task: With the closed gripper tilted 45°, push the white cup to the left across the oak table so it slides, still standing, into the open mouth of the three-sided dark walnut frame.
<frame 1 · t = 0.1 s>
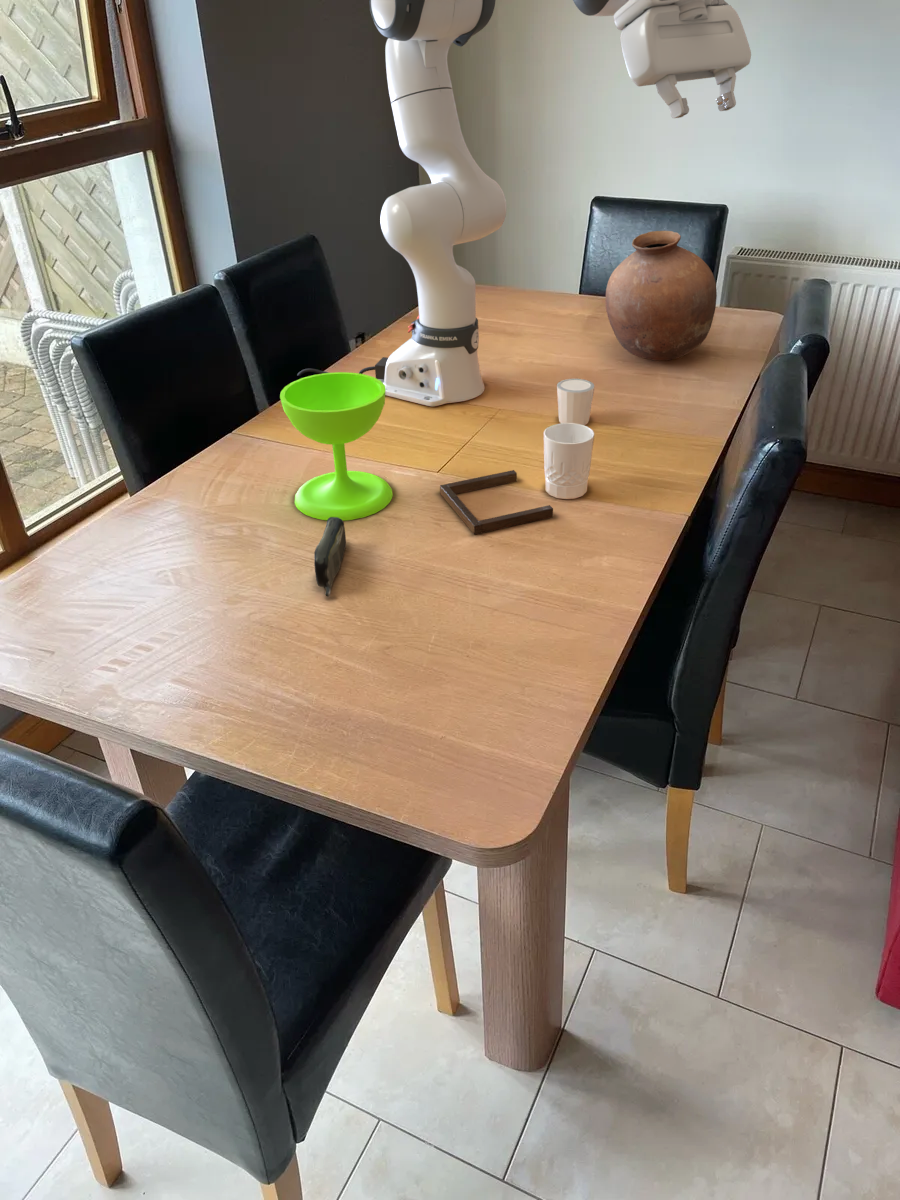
hand: (705, 112, 118), 54 cm above the table, tool tilted 30°, fingers open, 8 cm apart
walnut frame: (498, 504, 145), on the table
white cup: (565, 491, 149), on the table
mobile phone: (331, 570, 131), on the table
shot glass: (573, 421, 172), on the table
pottery: (654, 355, 200), on the table
wineglass: (343, 497, 149), on the table
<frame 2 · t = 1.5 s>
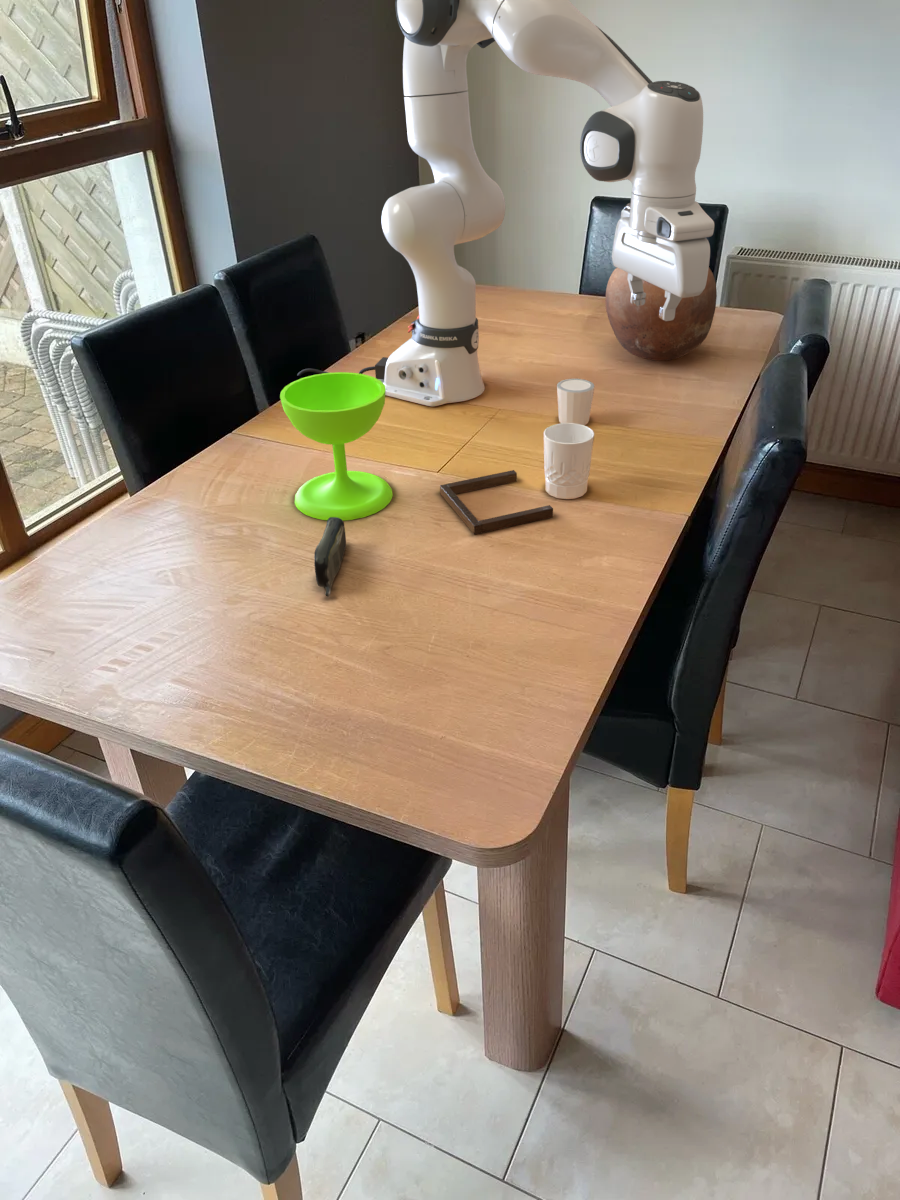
hand: (651, 311, 137), 27 cm above the table, tool pointing down, fingers open, 7 cm apart
nothing on the table moved.
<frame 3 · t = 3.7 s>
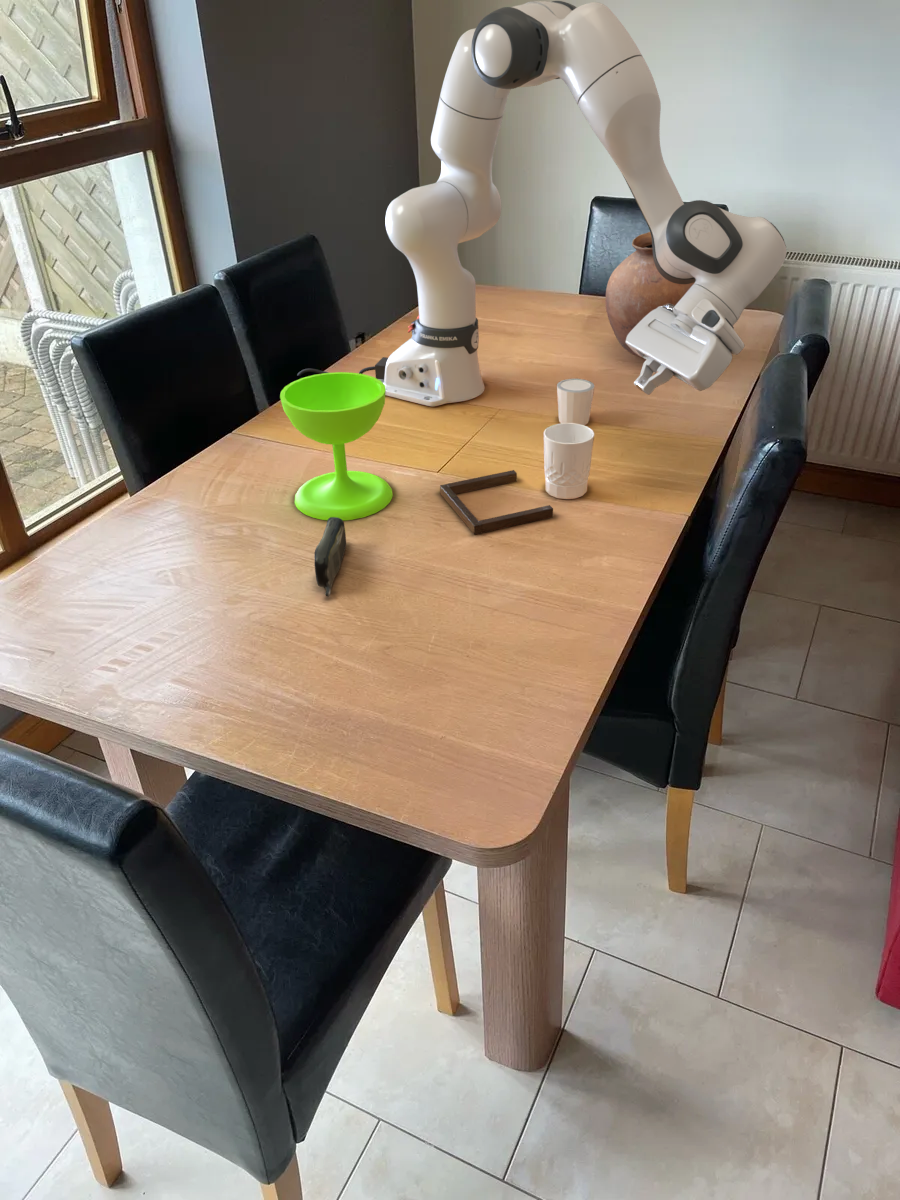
hand: (640, 389, 144), 15 cm above the table, tool tilted 45°, fingers closed
nothing on the table moved.
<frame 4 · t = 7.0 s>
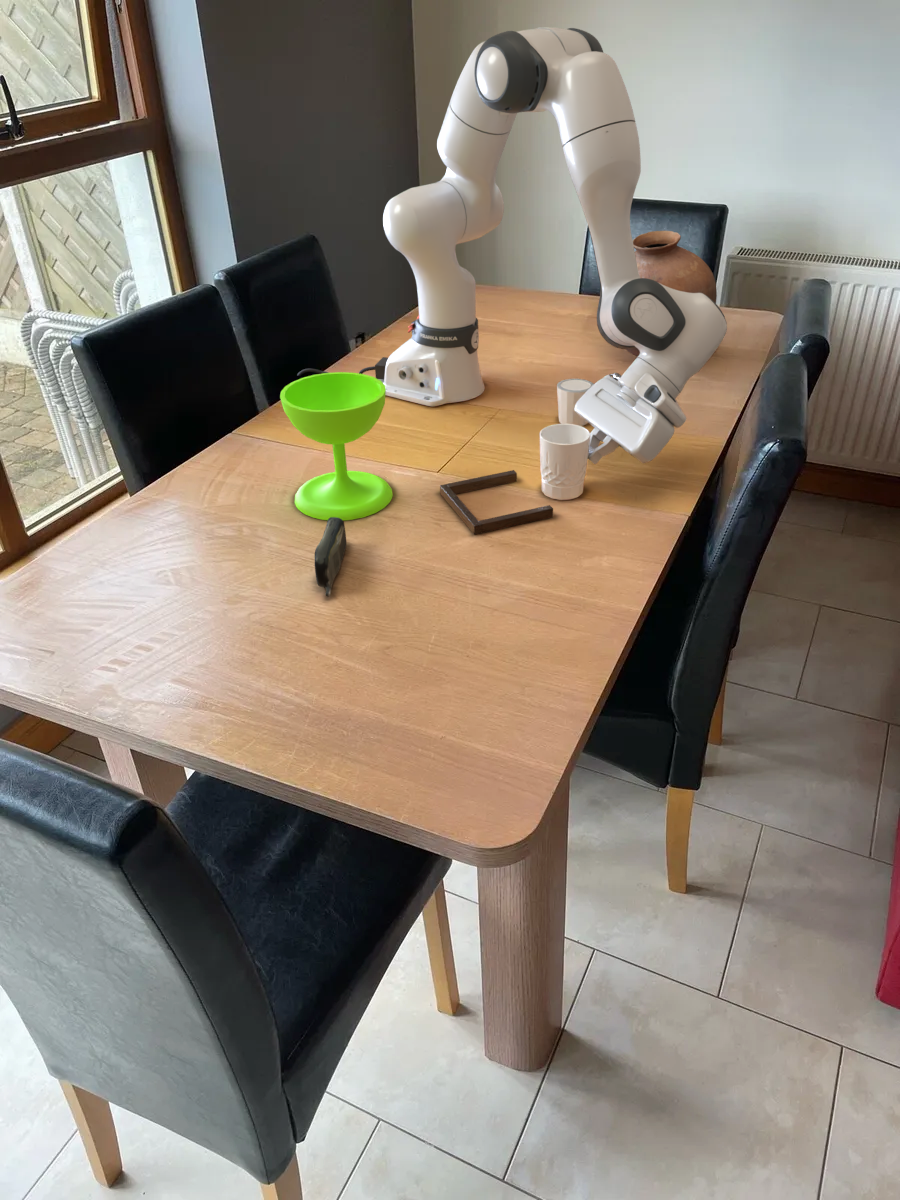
hand: (587, 458, 147), 5 cm above the table, tool tilted 45°, fingers closed, pressing on white cup
white cup: (562, 491, 149), on the table, touching gripper
everything else where it was.
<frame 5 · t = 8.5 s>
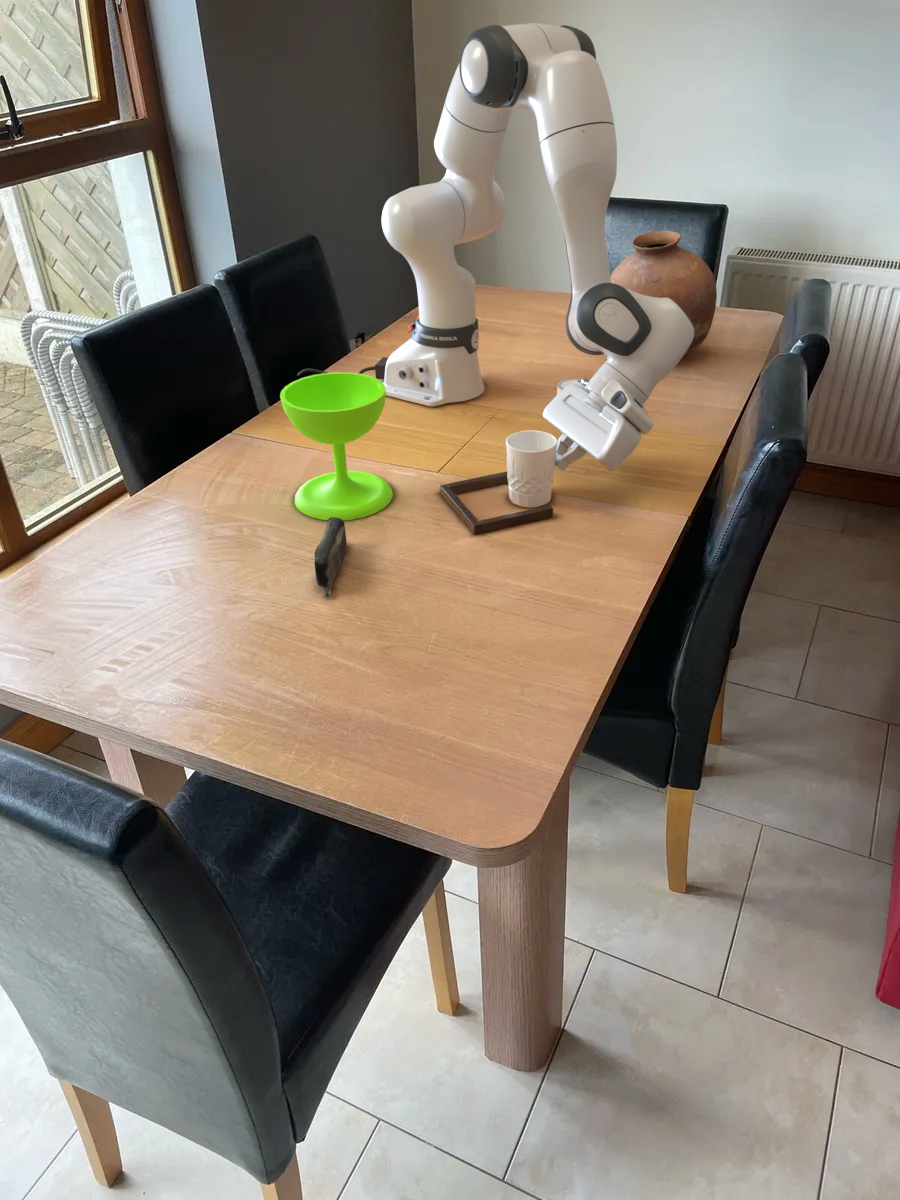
hand: (555, 465, 145), 5 cm above the table, tool tilted 45°, fingers closed, pressing on white cup
white cup: (529, 499, 147), on the table, touching gripper
everything else where it was.
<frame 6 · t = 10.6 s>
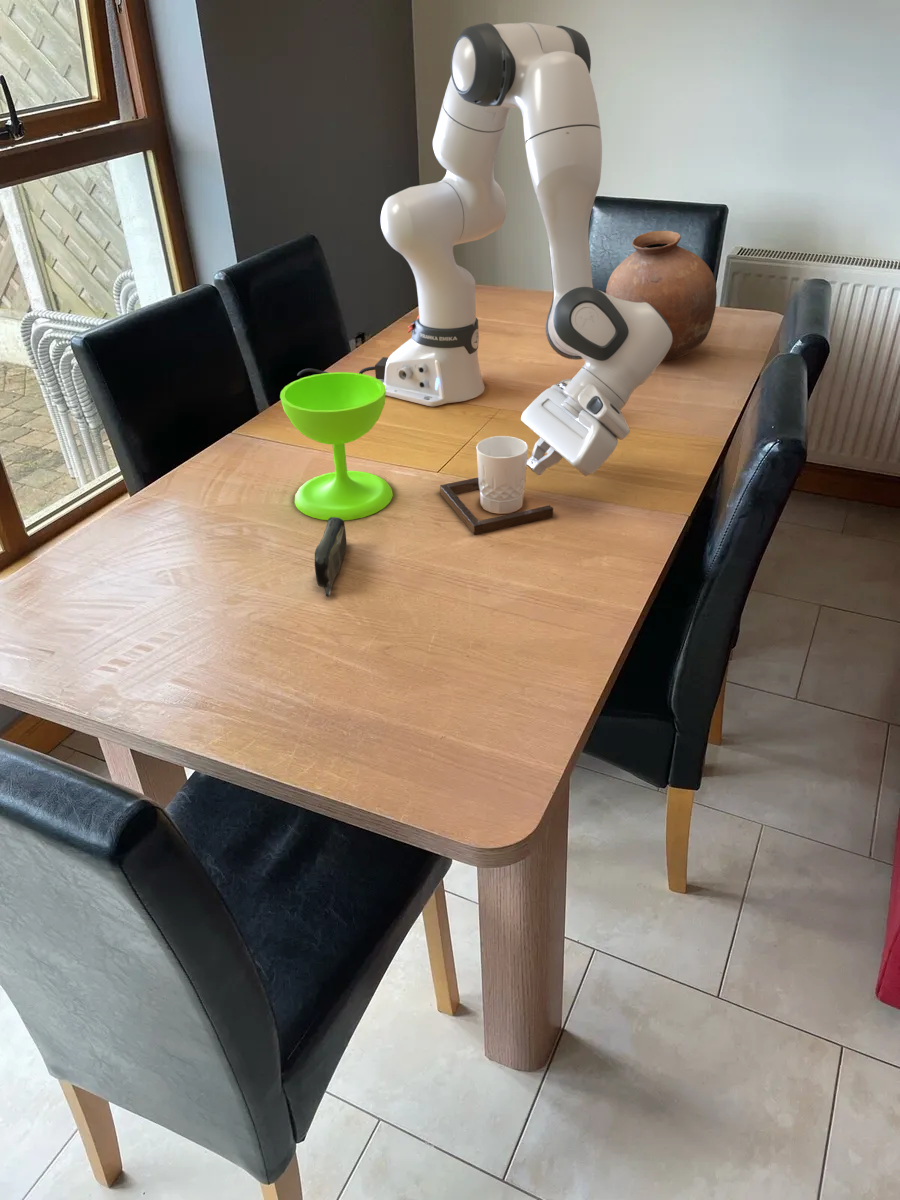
hand: (531, 470, 144), 5 cm above the table, tool tilted 45°, fingers closed
white cup: (501, 505, 146), on the table
everything else where it was.
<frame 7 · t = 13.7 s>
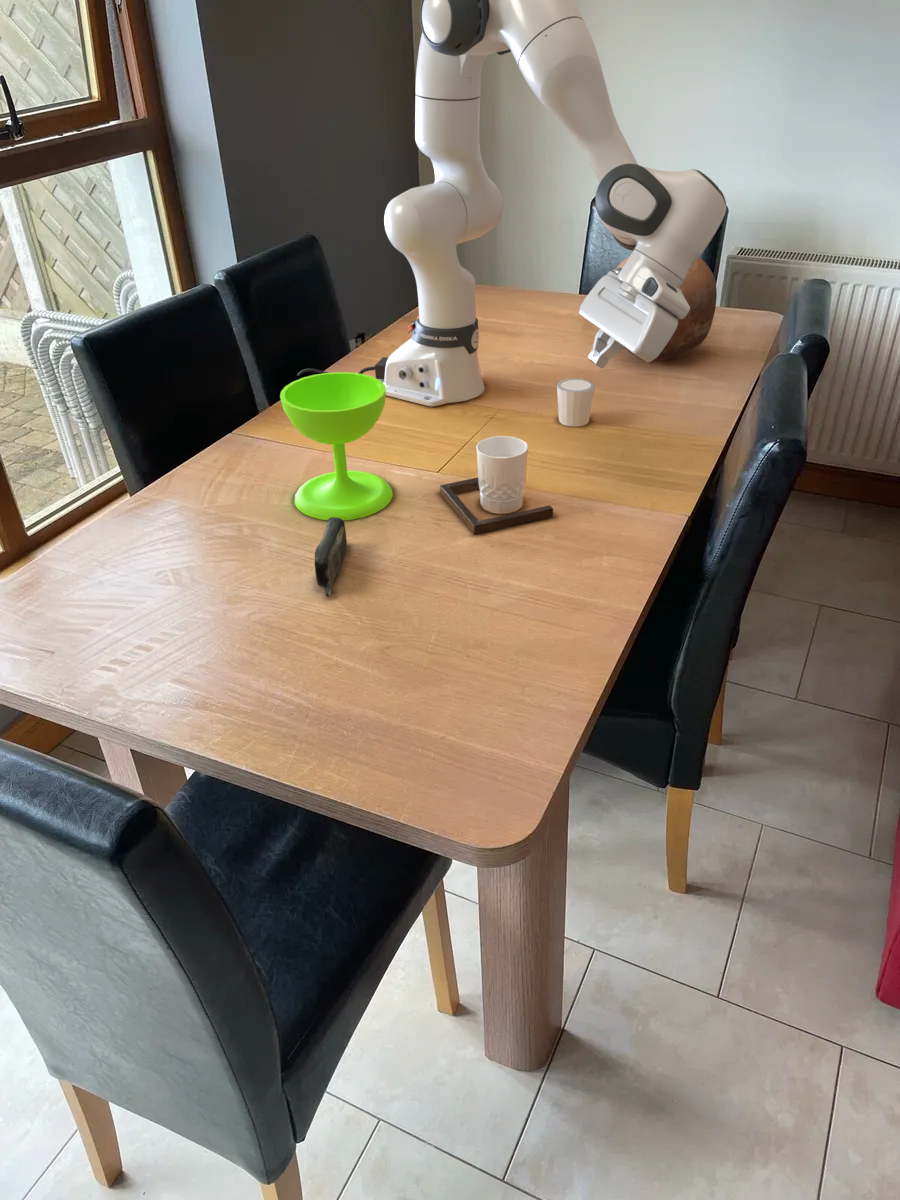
hand: (594, 363, 142), 19 cm above the table, tool tilted 35°, fingers closed
nothing on the table moved.
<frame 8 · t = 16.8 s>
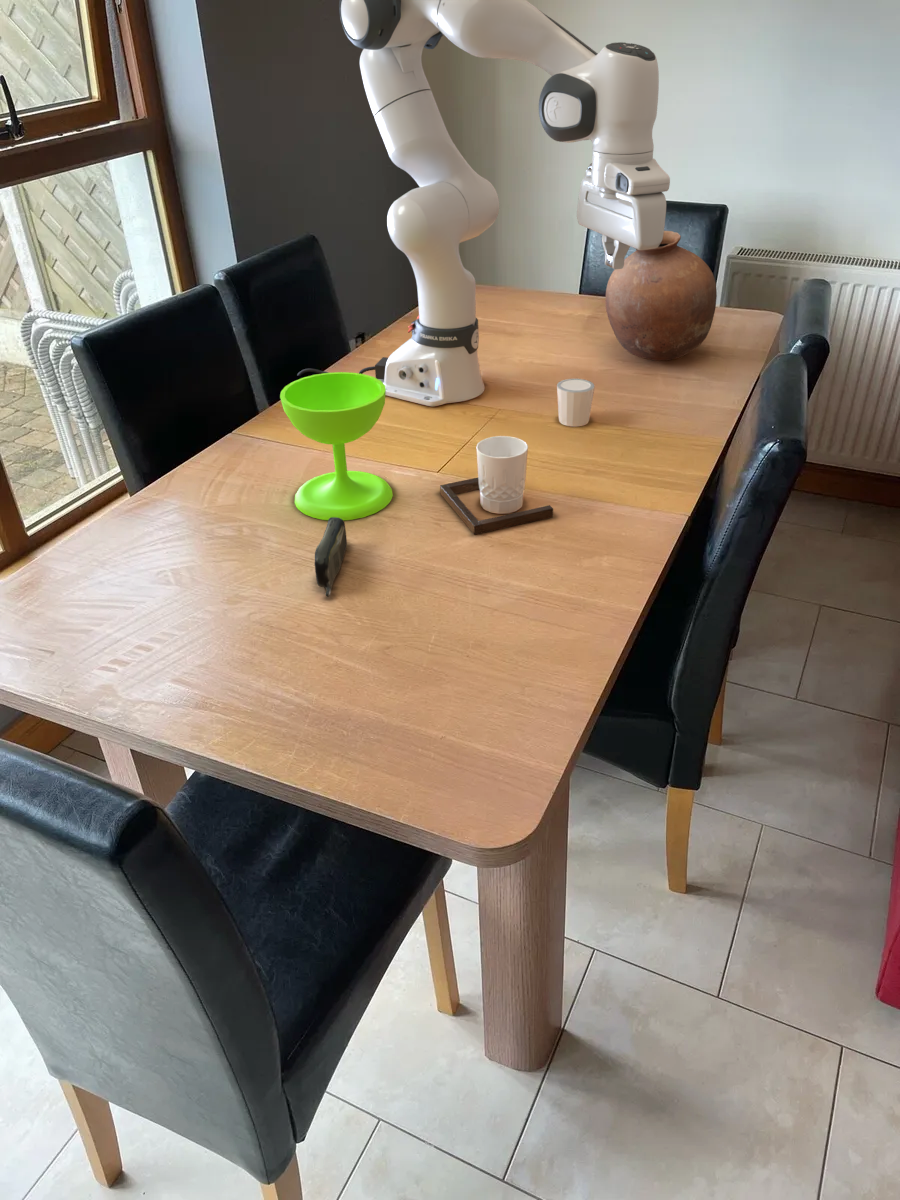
hand: (614, 267, 144), 31 cm above the table, tool pointing down, fingers closed
nothing on the table moved.
at the end: white cup 0.5 cm from the walnut frame (horizontally); white cup tilted 0°; white cup moved 11.5 cm from its start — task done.
